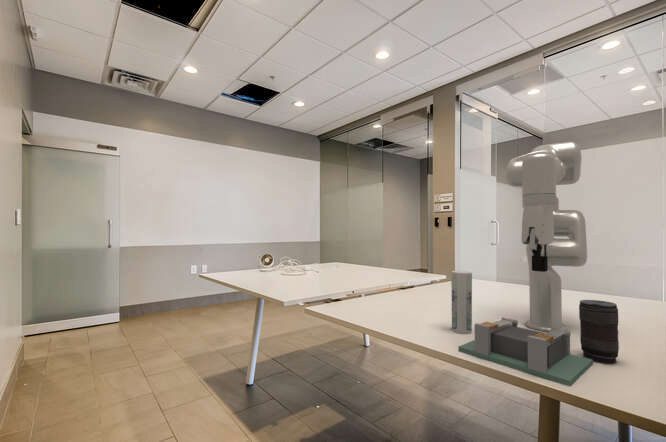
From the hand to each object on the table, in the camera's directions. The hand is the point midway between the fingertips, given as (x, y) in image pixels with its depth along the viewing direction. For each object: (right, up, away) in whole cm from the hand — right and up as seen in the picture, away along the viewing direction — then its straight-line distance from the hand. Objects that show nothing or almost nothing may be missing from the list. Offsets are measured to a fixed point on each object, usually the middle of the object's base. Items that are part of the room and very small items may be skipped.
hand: (539, 270), depth 85 cm
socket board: (-4, -23, +1) cm, 24 cm away
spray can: (-11, -24, +24) cm, 36 cm away
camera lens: (+16, -24, +1) cm, 29 cm away
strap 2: (0, -17, -4) cm, 17 cm away
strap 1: (-8, -17, +6) cm, 20 cm away
